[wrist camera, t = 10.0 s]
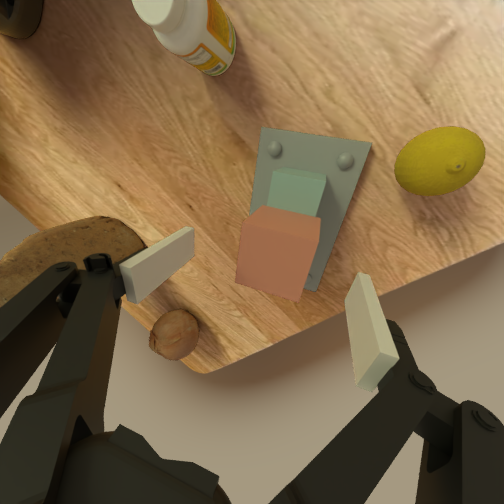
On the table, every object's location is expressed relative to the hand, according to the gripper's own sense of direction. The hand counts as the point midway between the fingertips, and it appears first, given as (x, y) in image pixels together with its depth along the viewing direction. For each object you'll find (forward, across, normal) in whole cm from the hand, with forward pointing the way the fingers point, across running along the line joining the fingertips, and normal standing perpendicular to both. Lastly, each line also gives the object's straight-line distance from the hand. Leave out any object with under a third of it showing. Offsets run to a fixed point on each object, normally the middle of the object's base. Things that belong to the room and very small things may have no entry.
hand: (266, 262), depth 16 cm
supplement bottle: (+15, -12, +16) cm, 25 cm away
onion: (+14, -16, -28) cm, 36 cm away
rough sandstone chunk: (+14, -30, -12) cm, 36 cm away
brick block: (+7, 0, -1) cm, 7 cm away
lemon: (+14, +12, +8) cm, 20 cm away
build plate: (+14, 0, 0) cm, 14 cm away
